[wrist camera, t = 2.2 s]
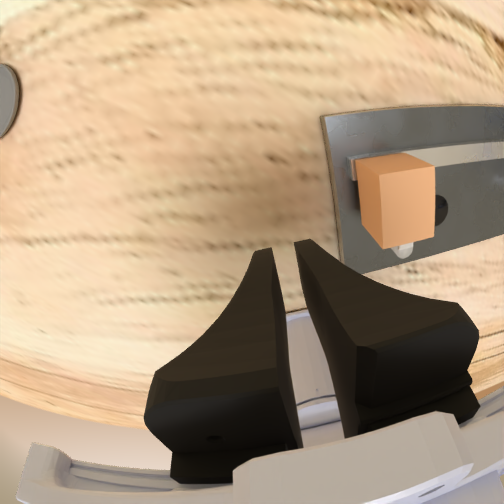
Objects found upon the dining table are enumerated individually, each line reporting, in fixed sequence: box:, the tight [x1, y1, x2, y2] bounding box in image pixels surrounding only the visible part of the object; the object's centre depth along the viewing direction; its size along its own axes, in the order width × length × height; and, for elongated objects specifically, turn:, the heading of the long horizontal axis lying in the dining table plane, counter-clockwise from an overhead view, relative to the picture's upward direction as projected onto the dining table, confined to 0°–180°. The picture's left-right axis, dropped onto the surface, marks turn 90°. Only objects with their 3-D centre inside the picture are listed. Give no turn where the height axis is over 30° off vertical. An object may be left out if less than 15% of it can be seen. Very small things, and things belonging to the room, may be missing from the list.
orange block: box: [355, 153, 435, 259], centre depth 17 cm, size 6×4×4 cm, turn 13°
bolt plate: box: [320, 105, 504, 274], centre depth 17 cm, size 12×24×6 cm, turn 103°
